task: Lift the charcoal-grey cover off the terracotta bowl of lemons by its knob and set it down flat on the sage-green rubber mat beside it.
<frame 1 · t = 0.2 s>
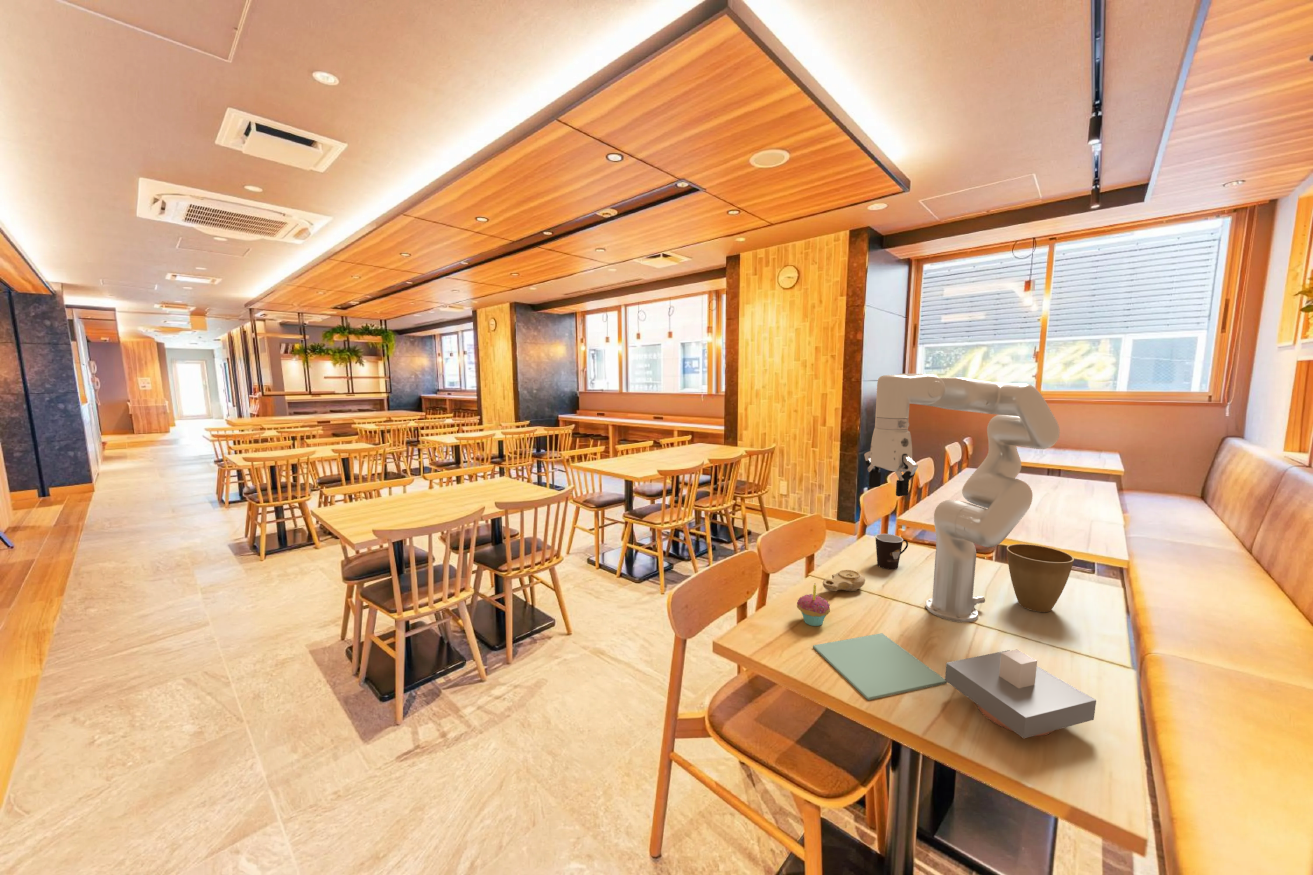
hand: (887, 491, 125), 37 cm above the table, tool pointing down, fingers open, 9 cm apart
oil lamp: (844, 590, 151), on the table
cover: (1014, 698, 96), point 3 cm above the table, touching bowl
cupcake: (812, 622, 132), on the table
plant pot: (1033, 606, 139), on the table
bowl: (1013, 712, 97), on the table
mat: (875, 664, 113), on the table
coffee mug: (892, 566, 168), on the table
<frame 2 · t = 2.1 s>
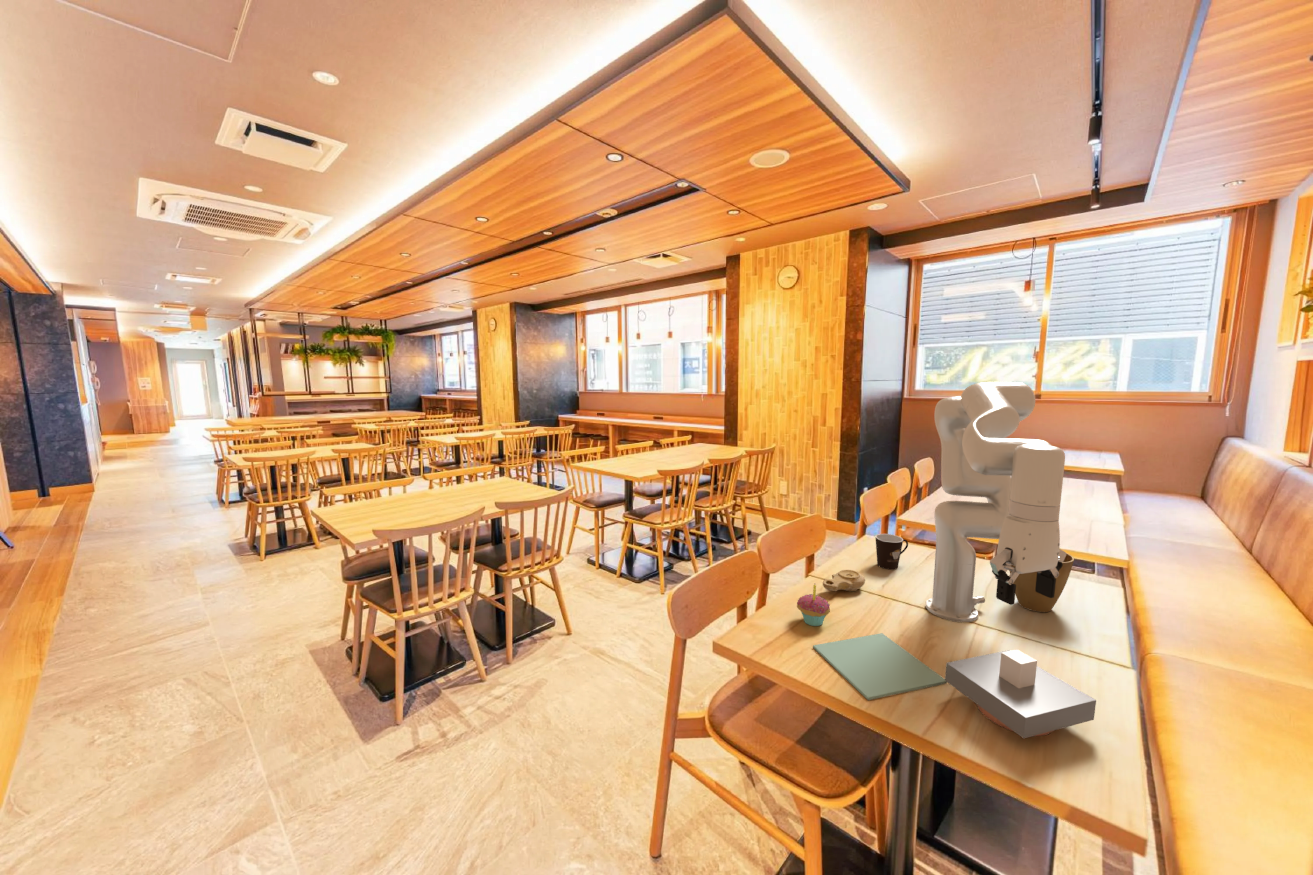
hand: (1024, 598, 93), 24 cm above the table, tool pointing down, fingers open, 9 cm apart
nothing on the table moved.
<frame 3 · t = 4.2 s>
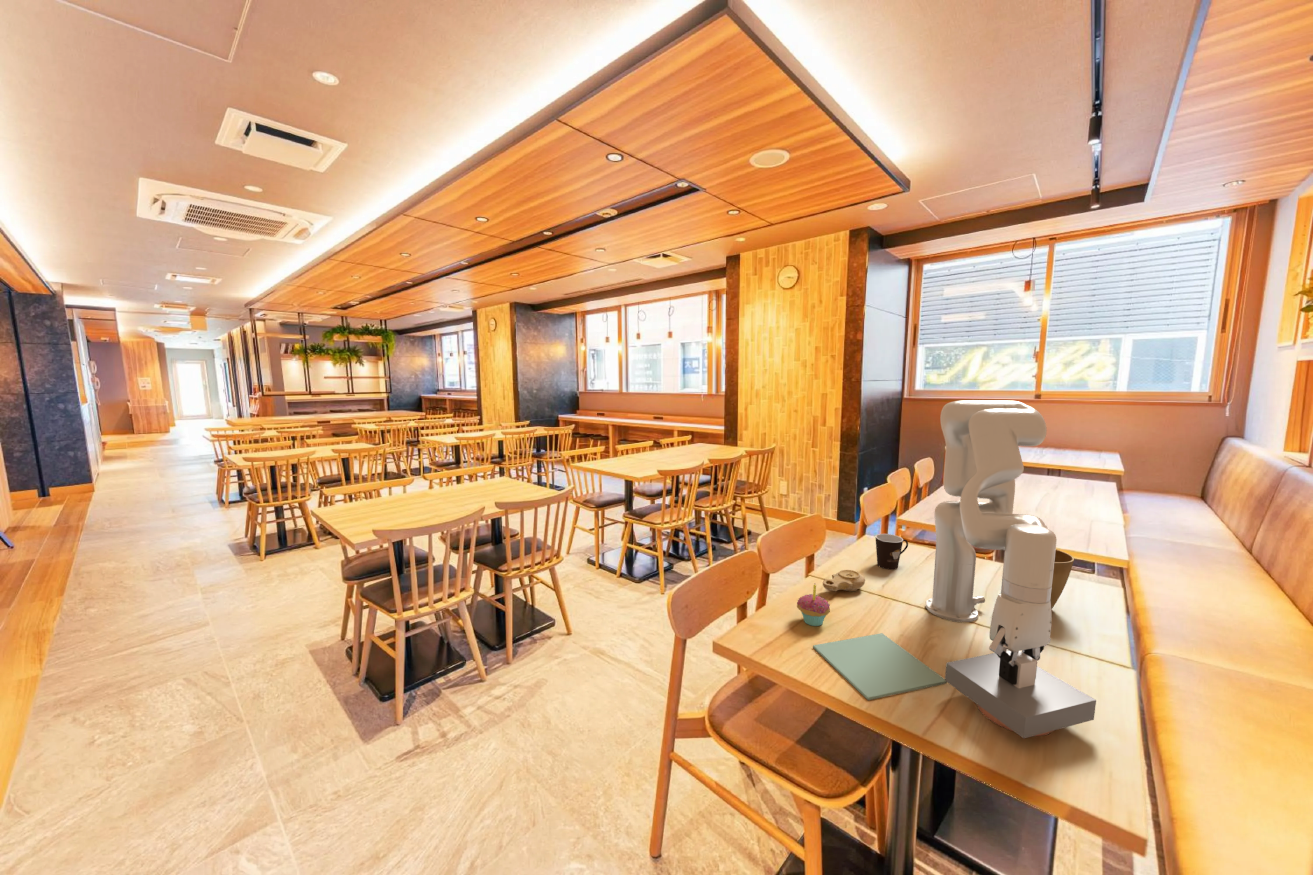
hand: (1016, 677, 96), 8 cm above the table, tool pointing down, fingers closed on cover, 4 cm apart
cover: (1014, 698, 96), point 3 cm above the table, touching bowl, gripper
everything else where it was.
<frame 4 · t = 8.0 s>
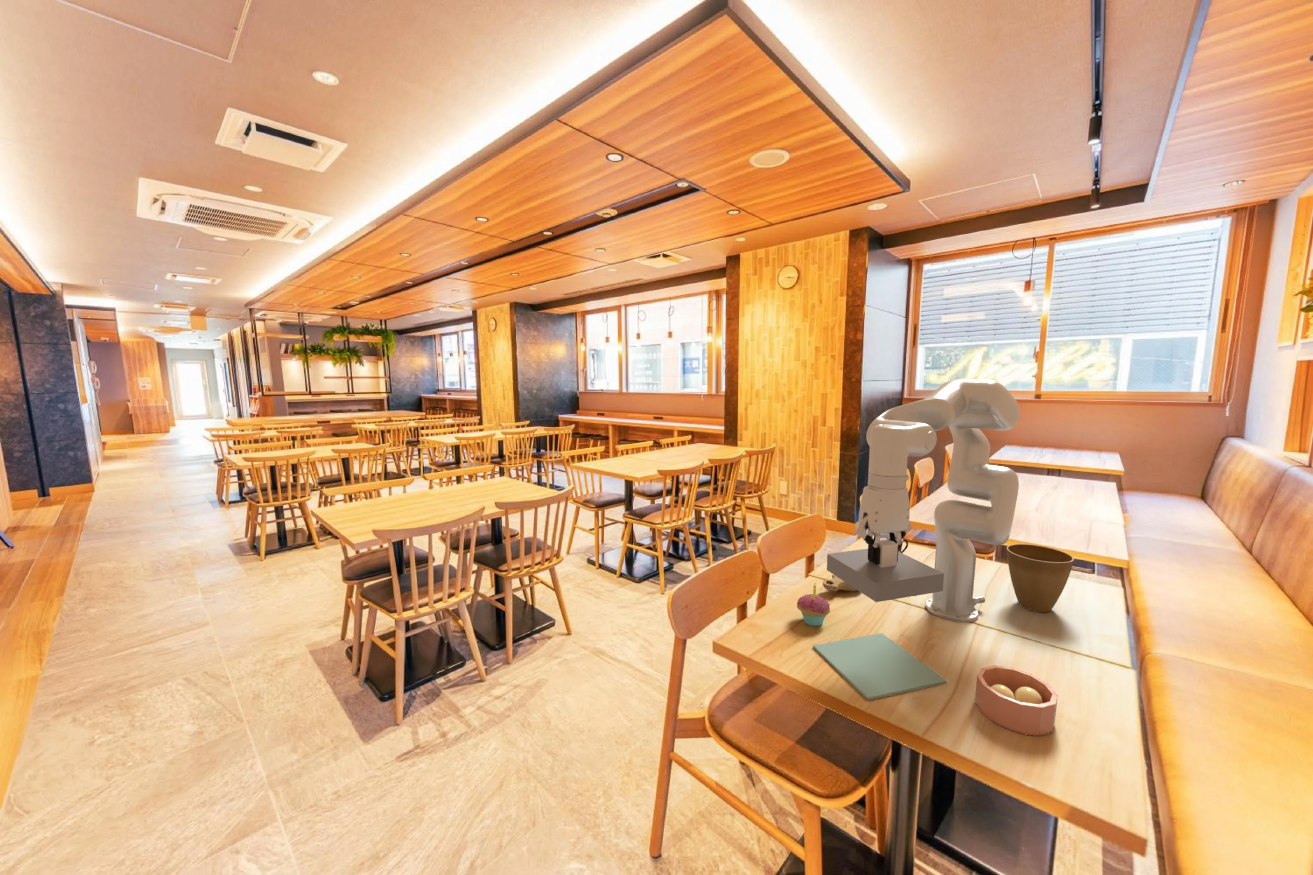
hand: (882, 560, 109), 25 cm above the table, tool pointing down, fingers closed on cover, 4 cm apart
cover: (881, 579, 110), point 21 cm above the table, touching gripper
everything else where it was.
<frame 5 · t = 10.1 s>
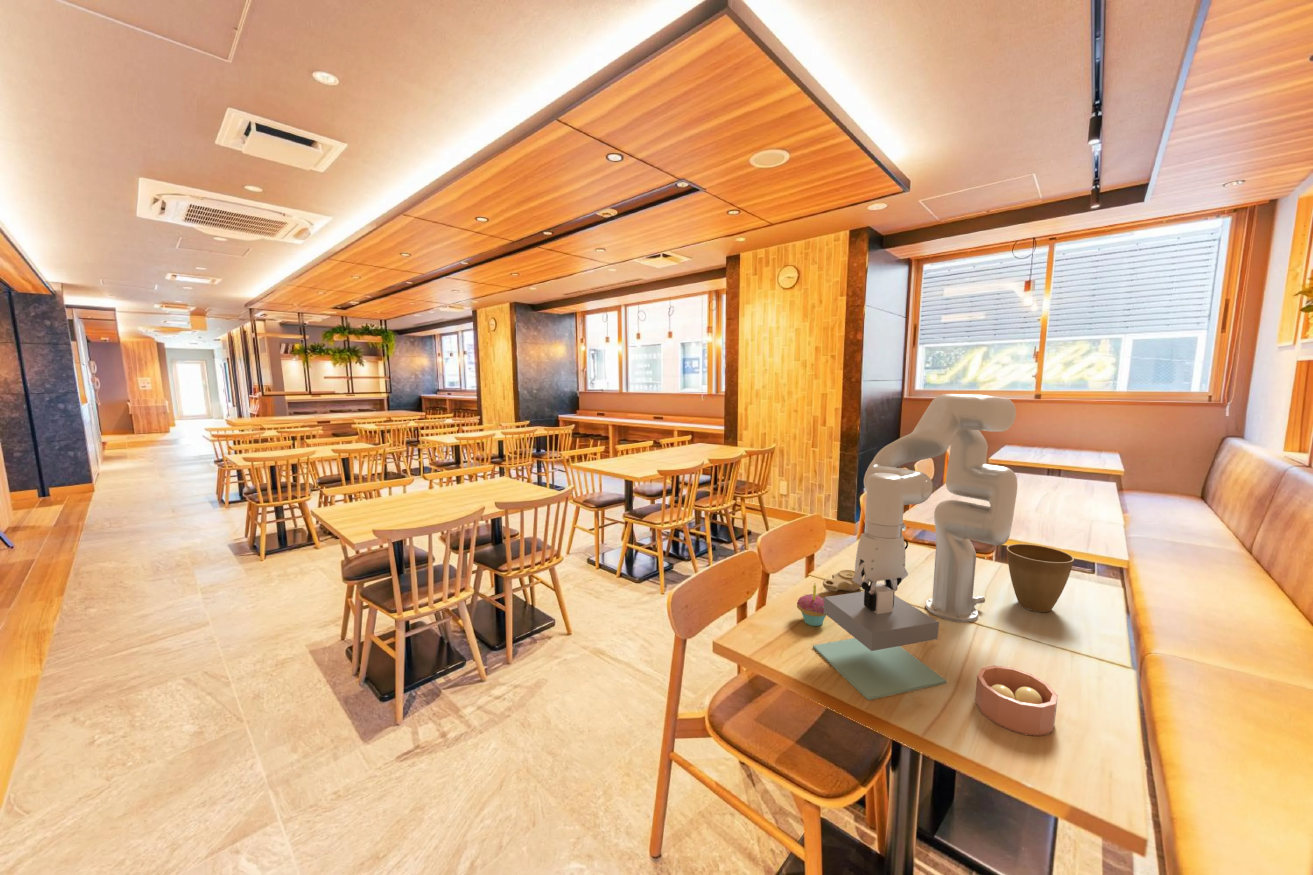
hand: (878, 606, 111), 14 cm above the table, tool pointing down, fingers closed on cover, 4 cm apart
cover: (877, 625, 111), point 10 cm above the table, touching gripper
everything else where it was.
when the fingers open (7 cm above the table, at t = 11.9 s): cover drops 1 cm, resting on mat.
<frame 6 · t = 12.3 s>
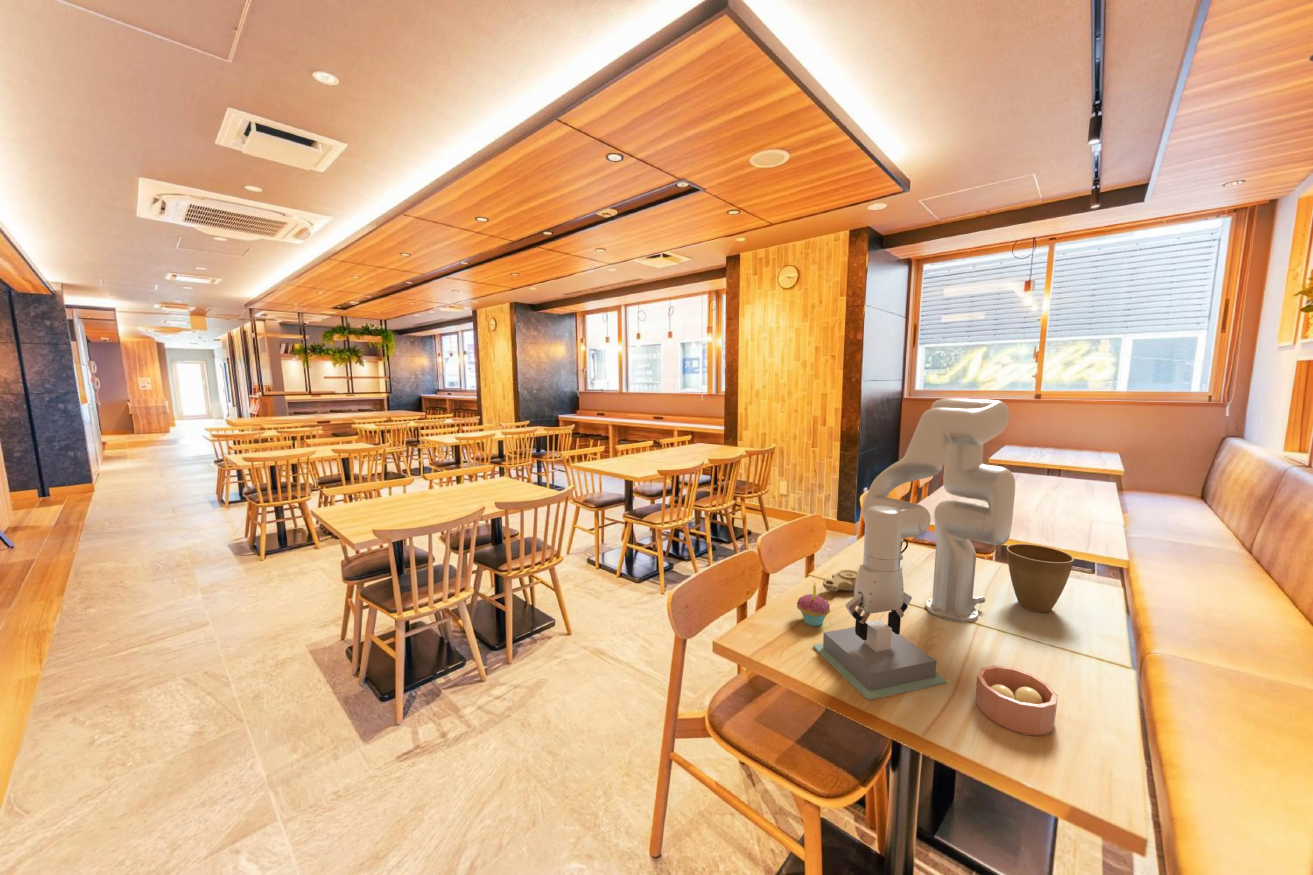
hand: (877, 633, 112), 8 cm above the table, tool pointing down, fingers open, 8 cm apart
cover: (876, 661, 113), point 1 cm above the table, touching mat
everything else where it was.
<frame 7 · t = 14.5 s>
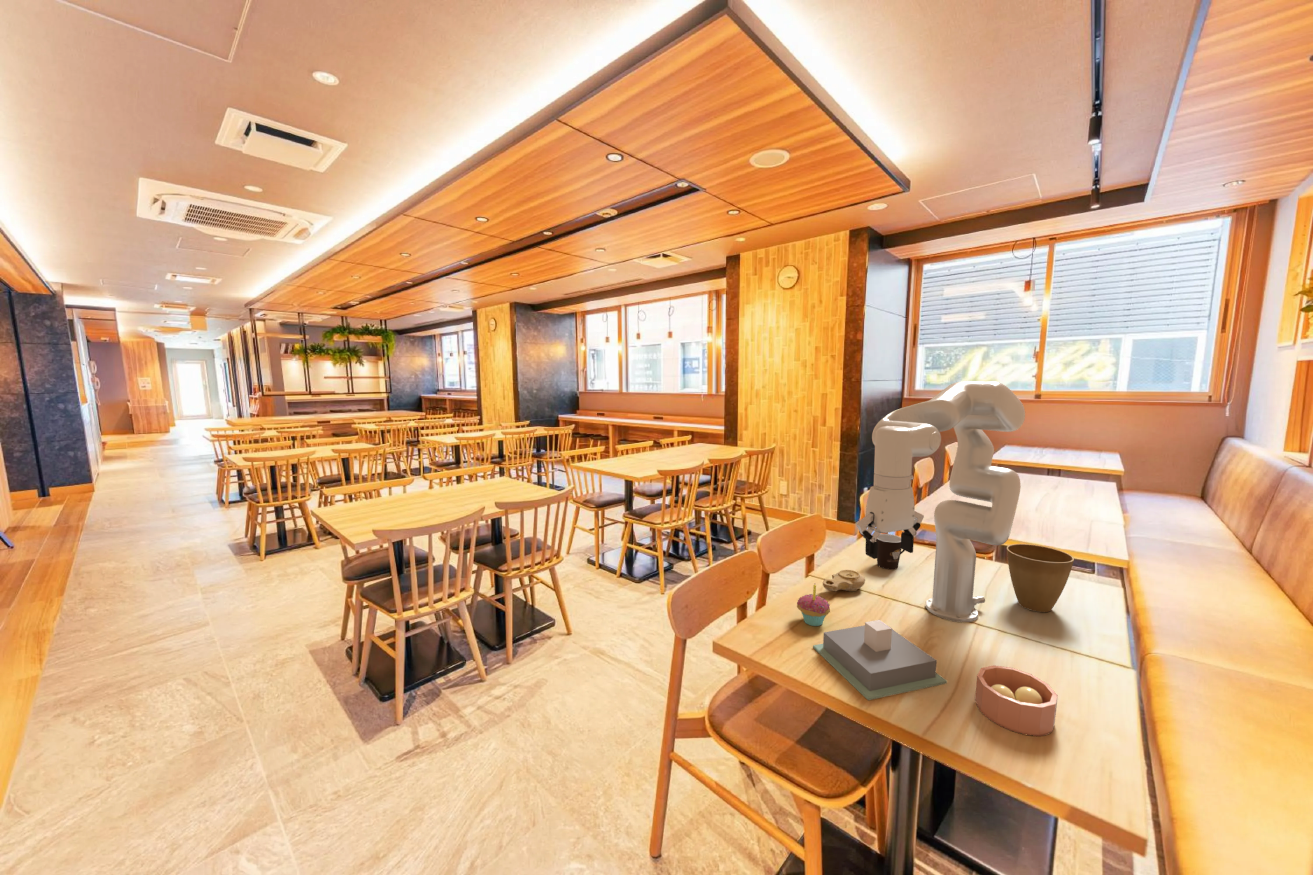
hand: (889, 553, 112), 25 cm above the table, tool pointing down, fingers open, 9 cm apart
nothing on the table moved.
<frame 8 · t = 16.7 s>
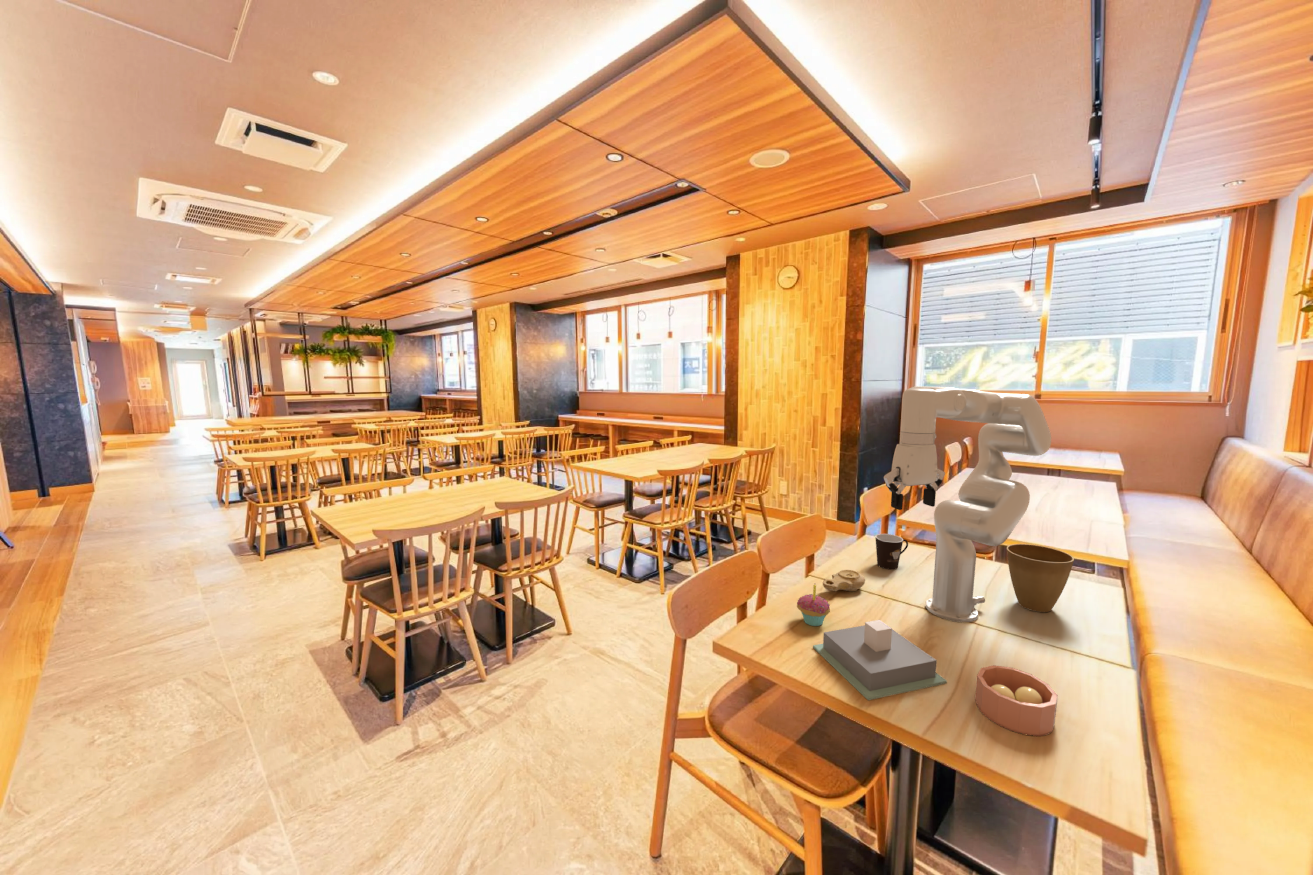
hand: (912, 506, 122), 33 cm above the table, tool pointing down, fingers open, 9 cm apart
nothing on the table moved.
at the end: cover inside the target area on the mat (0.1 cm from its centre), point 0.6 cm above the mat's base; cover tilted 0°; the gripper is holding nothing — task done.
